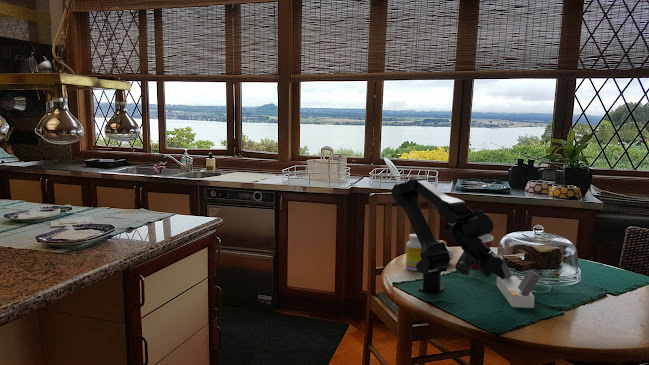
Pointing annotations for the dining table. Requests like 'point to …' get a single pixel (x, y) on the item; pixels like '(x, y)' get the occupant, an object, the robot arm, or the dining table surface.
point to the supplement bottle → (413, 252)
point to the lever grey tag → (505, 268)
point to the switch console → (515, 292)
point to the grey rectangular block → (528, 282)
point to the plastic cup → (488, 240)
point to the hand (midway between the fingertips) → (503, 277)
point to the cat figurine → (447, 249)
